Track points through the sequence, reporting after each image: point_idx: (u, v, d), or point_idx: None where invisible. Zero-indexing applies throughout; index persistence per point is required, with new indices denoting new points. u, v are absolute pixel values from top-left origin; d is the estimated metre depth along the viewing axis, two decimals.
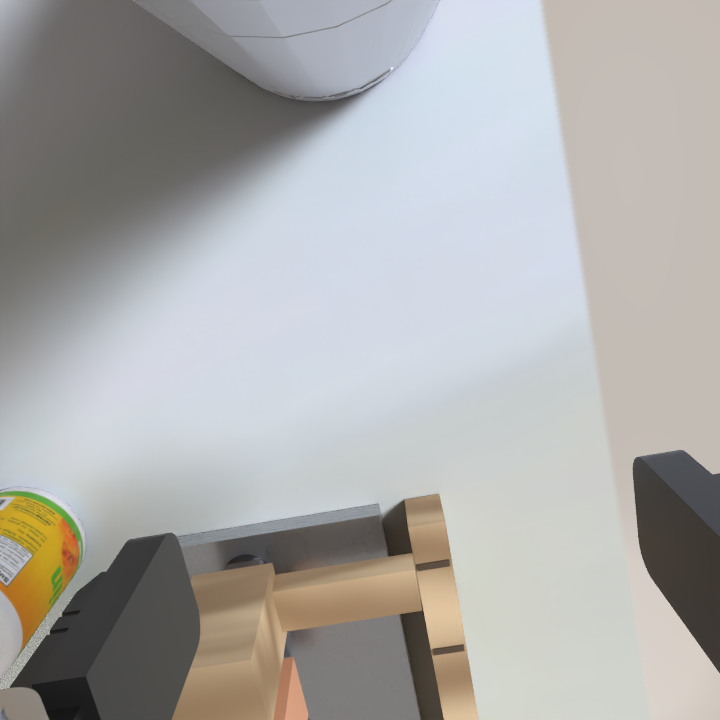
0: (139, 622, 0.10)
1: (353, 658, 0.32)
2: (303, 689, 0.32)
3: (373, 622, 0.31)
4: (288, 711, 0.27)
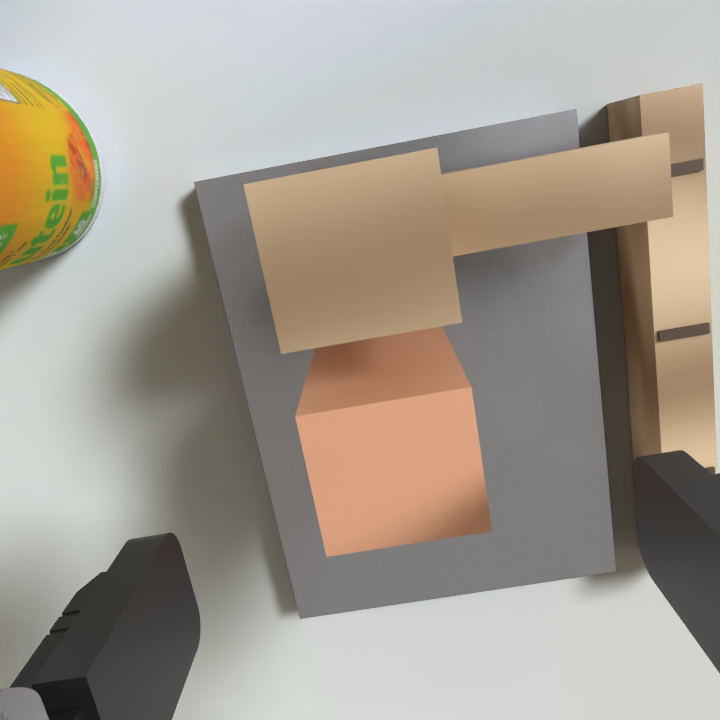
0: (139, 622, 0.10)
1: (514, 374, 0.21)
2: None
3: (551, 310, 0.20)
4: None
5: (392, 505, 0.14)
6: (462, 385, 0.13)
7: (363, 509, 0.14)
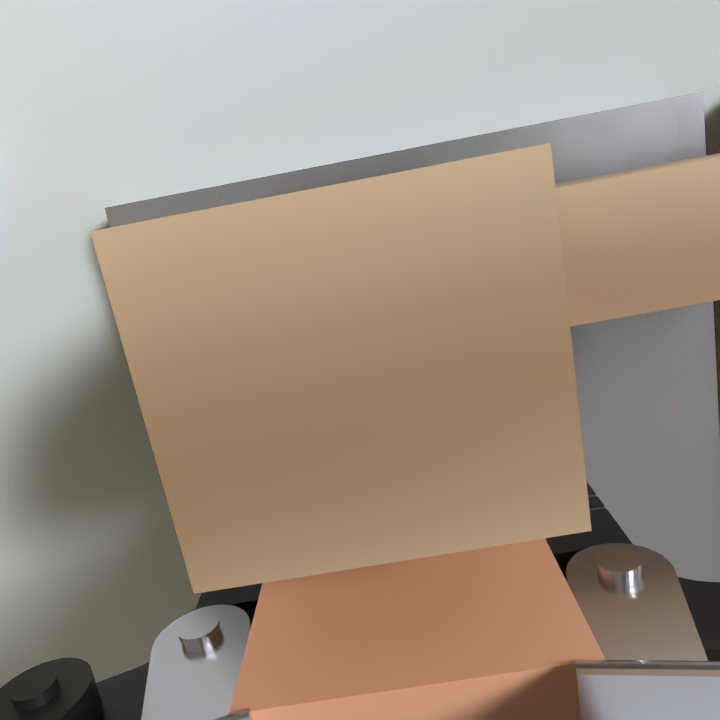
0: None
1: None
2: None
3: (654, 398, 0.13)
4: None
5: None
6: (582, 648, 0.06)
7: None
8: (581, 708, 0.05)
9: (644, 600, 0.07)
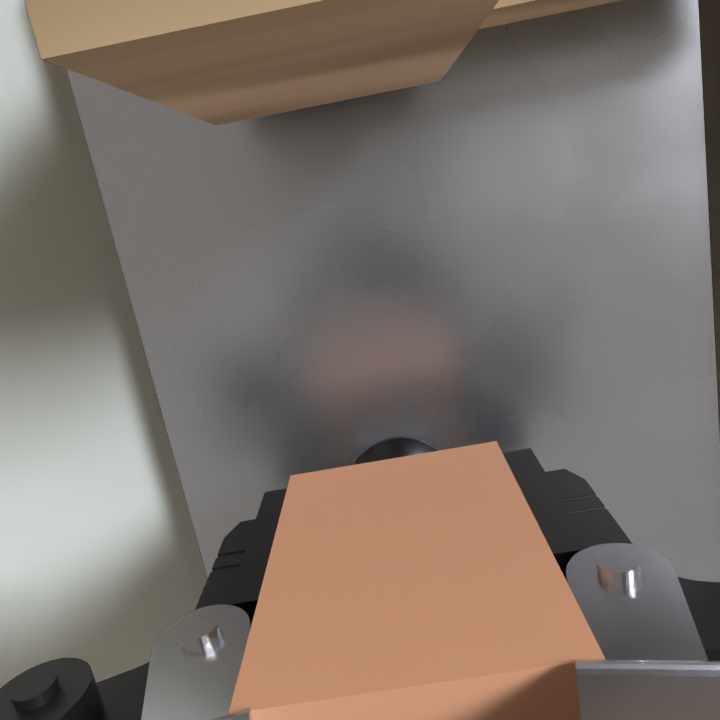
0: None
1: (573, 283, 0.13)
2: (441, 378, 0.13)
3: (636, 171, 0.12)
4: None
5: None
6: (582, 647, 0.06)
7: None
8: (581, 708, 0.05)
9: (644, 600, 0.07)
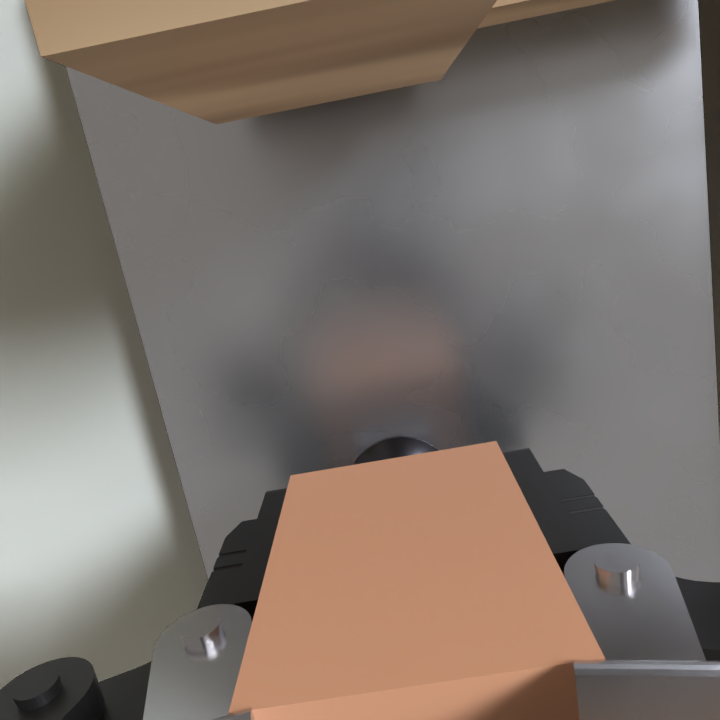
0: None
1: (572, 282, 0.13)
2: (441, 377, 0.13)
3: (636, 171, 0.12)
4: None
5: None
6: (582, 647, 0.06)
7: None
8: (579, 708, 0.05)
9: (642, 600, 0.07)
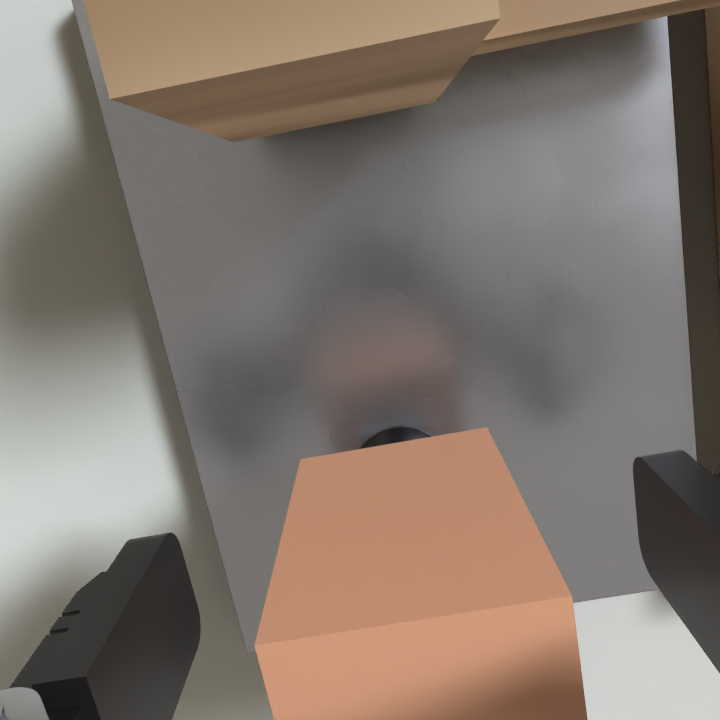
0: (139, 622, 0.10)
1: (557, 284, 0.14)
2: (437, 371, 0.14)
3: (614, 182, 0.13)
4: None
5: None
6: (553, 588, 0.07)
7: None
8: None
9: None
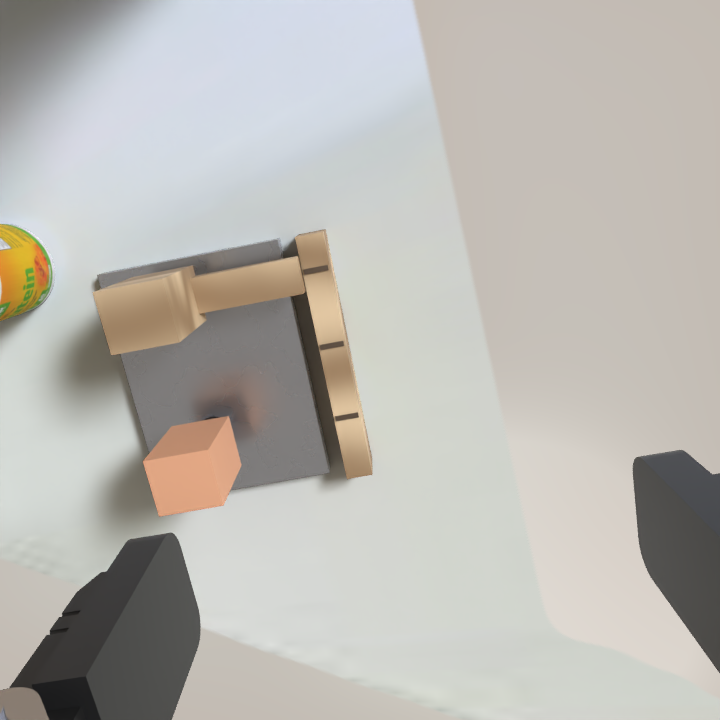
0: (139, 622, 0.10)
1: (262, 367, 0.41)
2: (225, 397, 0.41)
3: (277, 335, 0.40)
4: (220, 438, 0.37)
5: (183, 495, 0.35)
6: (206, 448, 0.34)
7: (172, 497, 0.35)
8: None
9: None
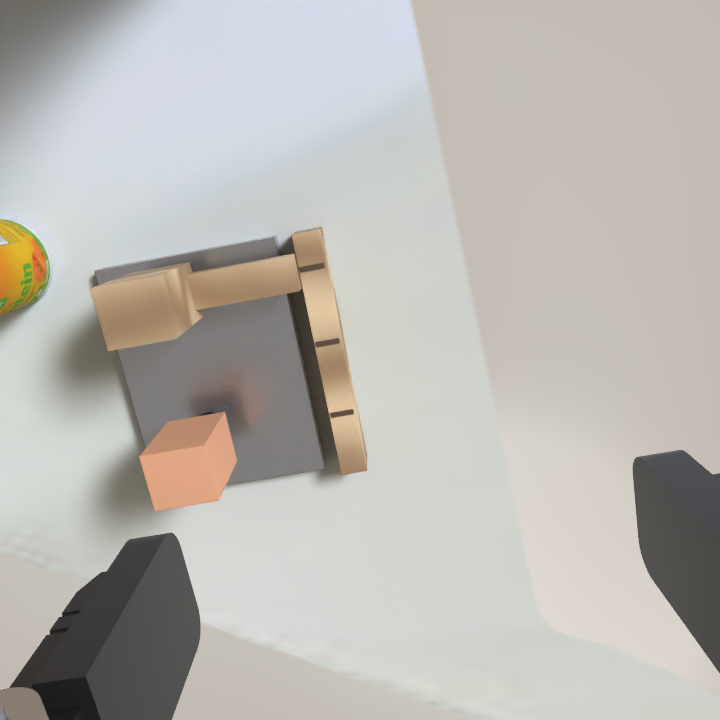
0: (140, 622, 0.10)
1: (259, 364, 0.41)
2: (221, 392, 0.41)
3: (273, 331, 0.40)
4: (216, 433, 0.37)
5: (179, 490, 0.35)
6: (202, 444, 0.34)
7: (167, 492, 0.35)
8: None
9: None
